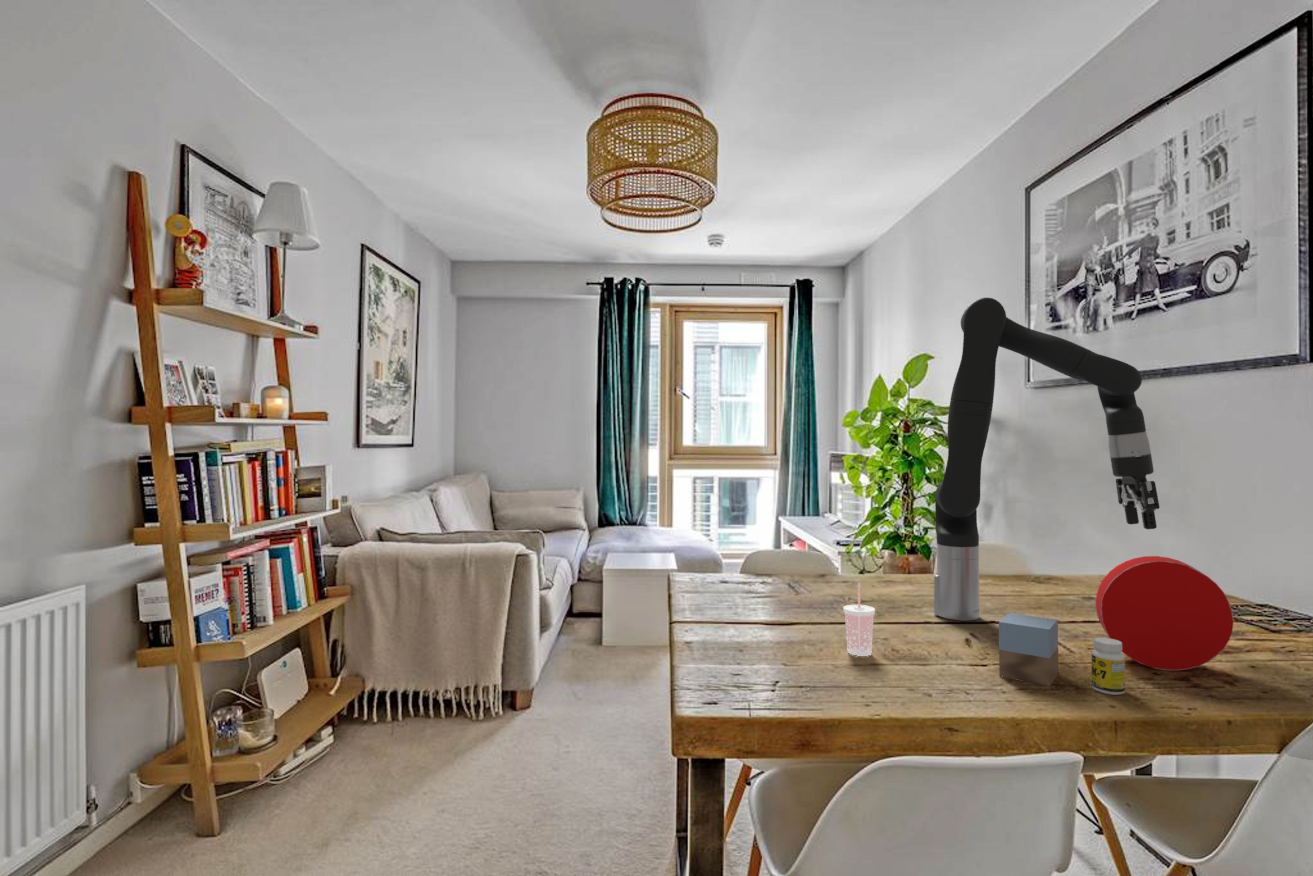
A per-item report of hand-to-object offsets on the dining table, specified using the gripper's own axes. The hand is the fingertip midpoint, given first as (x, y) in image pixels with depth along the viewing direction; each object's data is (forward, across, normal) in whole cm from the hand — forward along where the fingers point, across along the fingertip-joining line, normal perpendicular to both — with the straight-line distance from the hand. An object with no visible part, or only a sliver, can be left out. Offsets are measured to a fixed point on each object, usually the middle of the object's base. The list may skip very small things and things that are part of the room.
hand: (1141, 526), depth 153 cm
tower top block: (+14, +37, -35) cm, 53 cm away
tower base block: (+19, +37, -35) cm, 54 cm away
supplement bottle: (+20, +42, -25) cm, 53 cm away
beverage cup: (+15, +30, -64) cm, 73 cm away
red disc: (+22, +26, -10) cm, 35 cm away
